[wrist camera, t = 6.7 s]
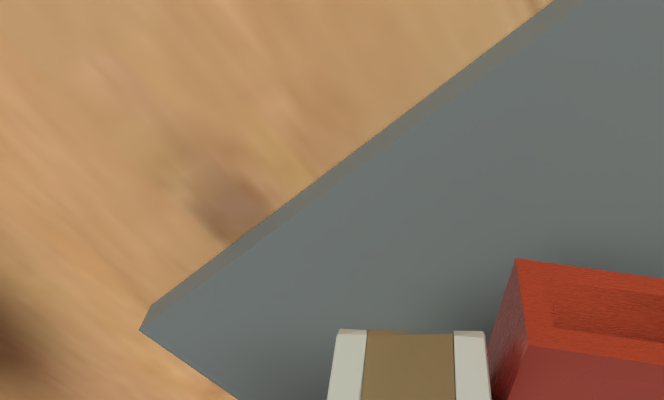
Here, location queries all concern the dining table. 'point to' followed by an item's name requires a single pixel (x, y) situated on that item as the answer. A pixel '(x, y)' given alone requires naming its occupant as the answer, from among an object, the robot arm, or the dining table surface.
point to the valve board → (447, 207)
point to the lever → (577, 335)
